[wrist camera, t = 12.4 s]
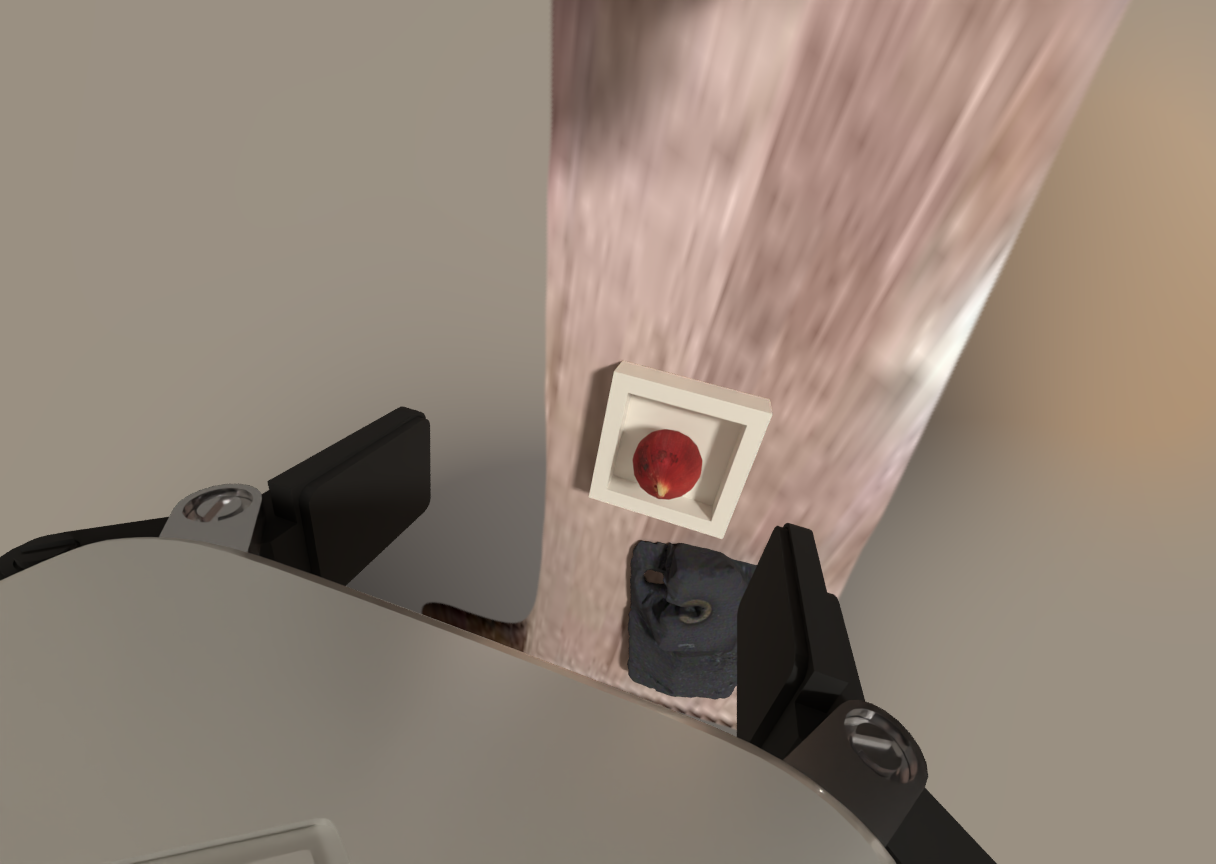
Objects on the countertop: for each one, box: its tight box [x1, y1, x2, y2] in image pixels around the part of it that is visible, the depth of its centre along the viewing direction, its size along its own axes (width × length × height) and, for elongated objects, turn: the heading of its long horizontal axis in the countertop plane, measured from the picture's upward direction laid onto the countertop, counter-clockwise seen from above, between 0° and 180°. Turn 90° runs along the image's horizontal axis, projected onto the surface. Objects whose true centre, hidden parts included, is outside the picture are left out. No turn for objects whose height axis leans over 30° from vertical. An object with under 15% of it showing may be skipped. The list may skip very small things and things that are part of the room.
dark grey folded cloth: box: [627, 541, 757, 699], centre depth 49 cm, size 15×22×5 cm
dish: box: [589, 361, 772, 539], centre depth 40 cm, size 13×13×3 cm
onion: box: [633, 429, 702, 500], centre depth 38 cm, size 6×6×8 cm
